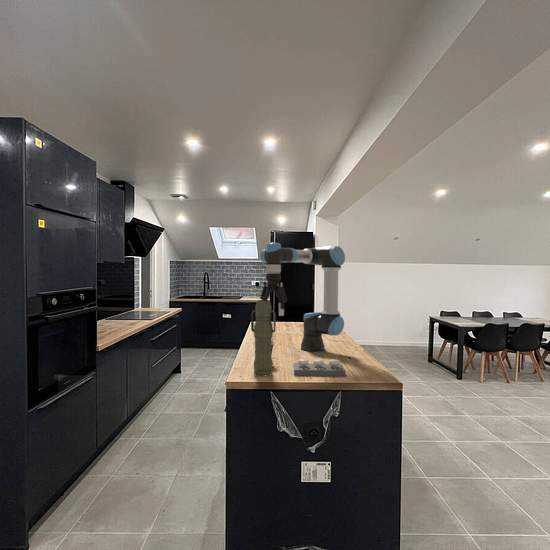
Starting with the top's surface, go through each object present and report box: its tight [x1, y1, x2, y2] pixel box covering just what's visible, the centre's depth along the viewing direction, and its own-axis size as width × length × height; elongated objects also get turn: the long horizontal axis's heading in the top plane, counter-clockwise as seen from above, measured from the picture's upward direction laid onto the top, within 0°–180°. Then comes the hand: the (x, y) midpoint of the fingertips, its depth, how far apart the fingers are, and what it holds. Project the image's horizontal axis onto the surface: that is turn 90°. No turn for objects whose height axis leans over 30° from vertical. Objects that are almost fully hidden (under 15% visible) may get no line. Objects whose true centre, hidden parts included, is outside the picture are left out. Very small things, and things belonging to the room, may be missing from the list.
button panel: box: [293, 363, 346, 377], centre depth 174 cm, size 12×24×3 cm, turn 87°
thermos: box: [250, 299, 277, 376], centre depth 171 cm, size 9×12×35 cm
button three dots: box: [313, 358, 325, 368], centre depth 174 cm, size 5×5×4 cm
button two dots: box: [297, 358, 309, 368], centre depth 175 cm, size 5×5×4 cm
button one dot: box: [328, 358, 340, 368], centre depth 174 cm, size 5×5×4 cm
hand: (273, 314), depth 184 cm, fingers open, 13 cm apart
